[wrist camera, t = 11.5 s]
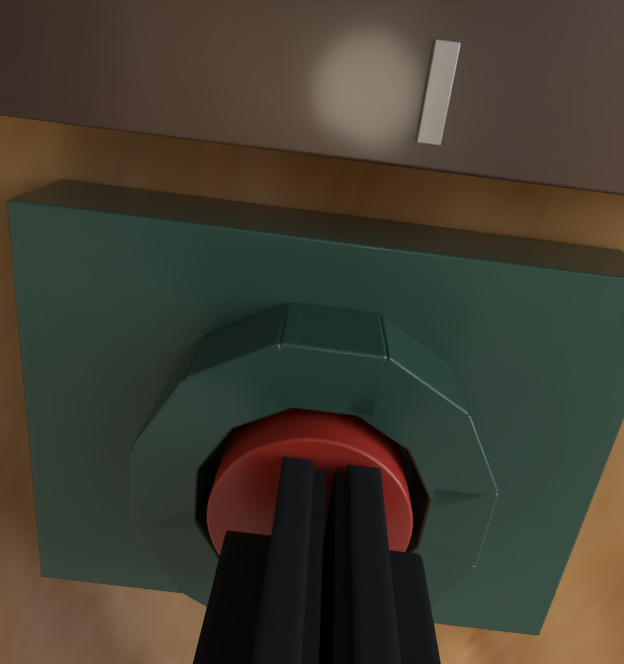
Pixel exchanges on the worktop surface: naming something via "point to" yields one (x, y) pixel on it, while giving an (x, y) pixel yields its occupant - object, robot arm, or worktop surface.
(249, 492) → the button
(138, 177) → the worktop surface
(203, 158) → the worktop surface
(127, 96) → the dial panel
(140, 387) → the button box
